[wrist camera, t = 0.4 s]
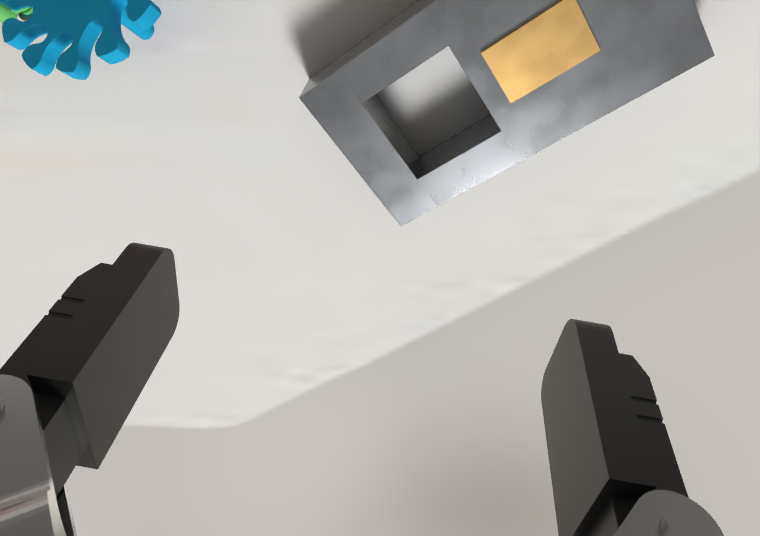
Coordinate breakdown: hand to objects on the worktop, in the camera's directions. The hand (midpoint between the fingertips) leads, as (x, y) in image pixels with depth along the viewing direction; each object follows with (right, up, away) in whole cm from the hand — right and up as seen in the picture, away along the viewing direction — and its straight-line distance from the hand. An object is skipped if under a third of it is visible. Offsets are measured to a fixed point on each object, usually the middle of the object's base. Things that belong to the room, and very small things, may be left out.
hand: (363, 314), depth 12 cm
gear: (-15, +17, +21) cm, 31 cm away
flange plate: (+7, +13, +22) cm, 26 cm away
